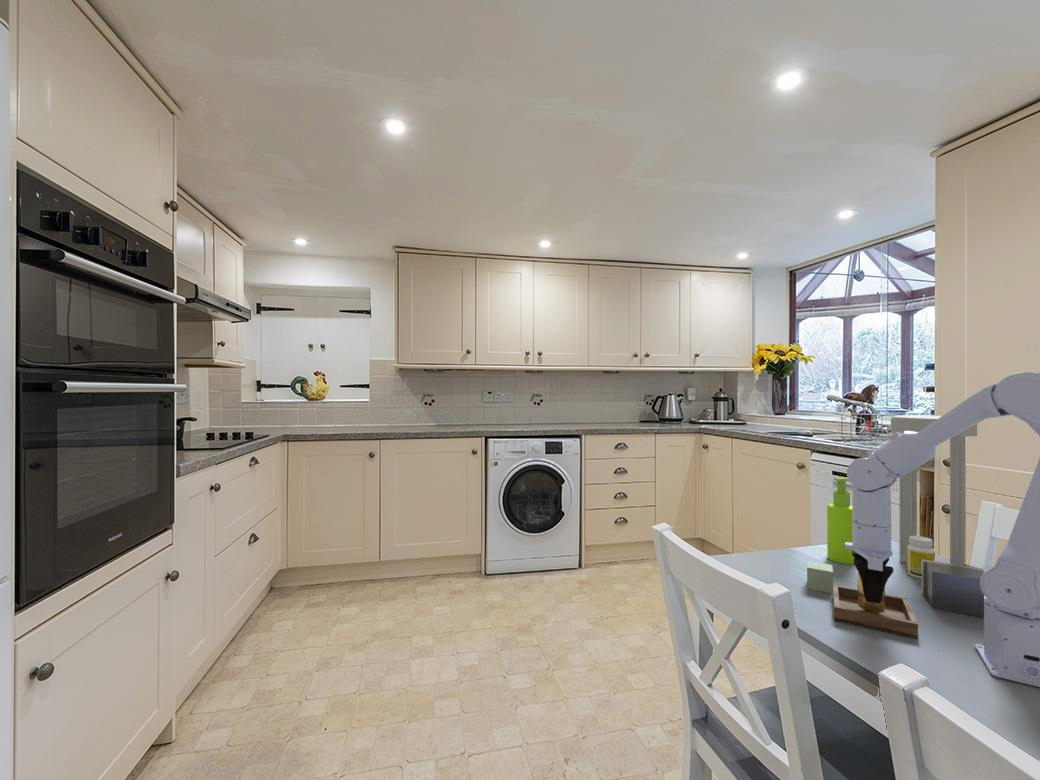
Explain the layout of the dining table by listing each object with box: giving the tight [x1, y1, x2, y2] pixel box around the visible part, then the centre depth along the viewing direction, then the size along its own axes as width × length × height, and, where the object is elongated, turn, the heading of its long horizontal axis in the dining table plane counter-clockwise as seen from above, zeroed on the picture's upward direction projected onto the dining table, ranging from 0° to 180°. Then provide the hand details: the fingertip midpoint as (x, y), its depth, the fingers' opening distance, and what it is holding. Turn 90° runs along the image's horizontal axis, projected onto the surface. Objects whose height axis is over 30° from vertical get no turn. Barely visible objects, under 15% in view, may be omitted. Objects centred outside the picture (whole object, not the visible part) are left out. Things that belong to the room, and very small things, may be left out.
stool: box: [890, 414, 978, 566], centre depth 114 cm, size 16×16×35 cm
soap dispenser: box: [826, 476, 855, 565], centre depth 115 cm, size 6×7×20 cm
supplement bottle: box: [906, 535, 936, 580], centre depth 105 cm, size 5×5×8 cm
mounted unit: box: [921, 560, 985, 619], centre depth 90 cm, size 8×9×7 cm
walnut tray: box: [832, 584, 919, 640], centre depth 86 cm, size 12×12×2 cm
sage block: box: [806, 560, 834, 594], centre depth 99 cm, size 4×4×4 cm
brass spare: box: [857, 571, 886, 613], centre depth 86 cm, size 4×4×6 cm
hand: (871, 597), depth 86 cm, fingers closed on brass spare, 4 cm apart
